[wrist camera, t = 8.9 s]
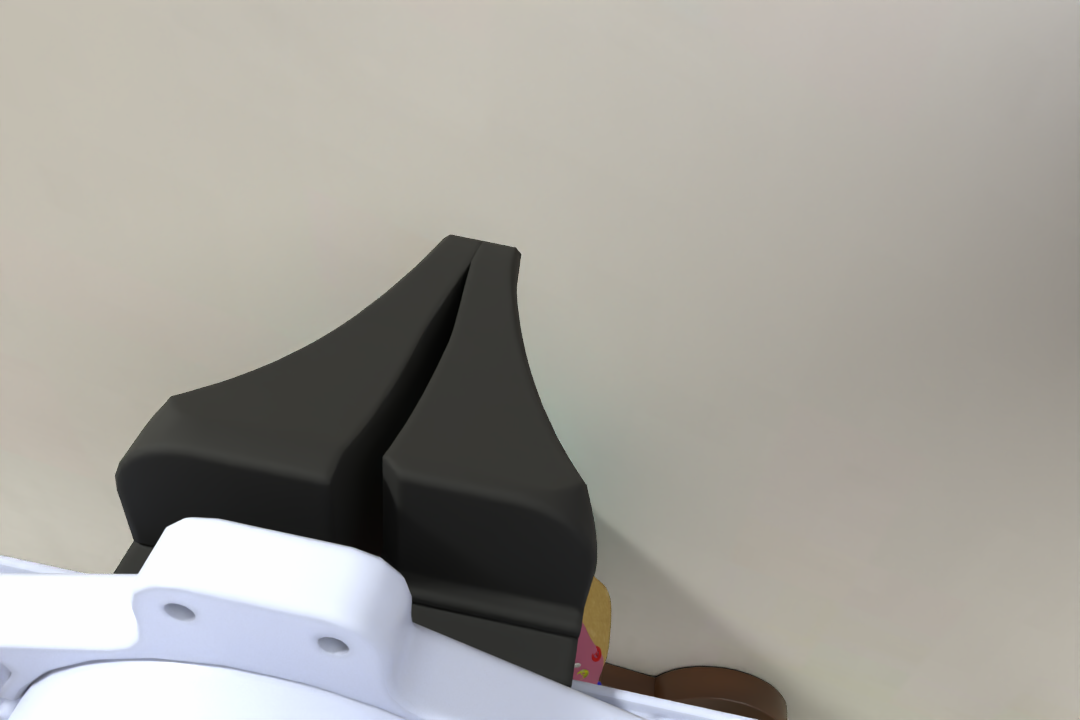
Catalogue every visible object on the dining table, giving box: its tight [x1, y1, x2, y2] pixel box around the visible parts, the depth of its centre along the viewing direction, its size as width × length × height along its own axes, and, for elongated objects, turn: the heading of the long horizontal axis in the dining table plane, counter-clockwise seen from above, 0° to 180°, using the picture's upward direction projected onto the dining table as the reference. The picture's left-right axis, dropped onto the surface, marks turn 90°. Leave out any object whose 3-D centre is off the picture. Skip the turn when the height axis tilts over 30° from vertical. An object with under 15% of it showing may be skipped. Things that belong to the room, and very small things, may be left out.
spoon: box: [599, 663, 787, 720], centre depth 31 cm, size 22×5×1 cm, turn 74°
